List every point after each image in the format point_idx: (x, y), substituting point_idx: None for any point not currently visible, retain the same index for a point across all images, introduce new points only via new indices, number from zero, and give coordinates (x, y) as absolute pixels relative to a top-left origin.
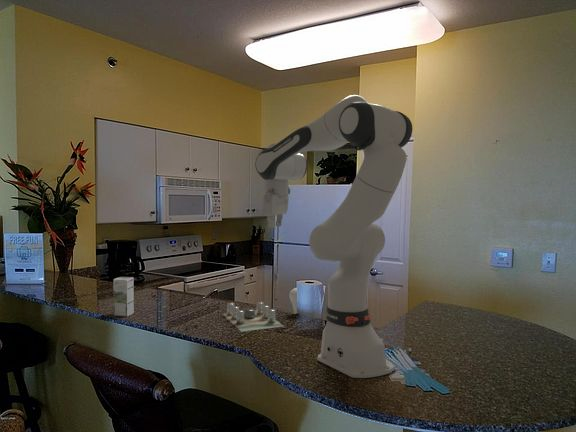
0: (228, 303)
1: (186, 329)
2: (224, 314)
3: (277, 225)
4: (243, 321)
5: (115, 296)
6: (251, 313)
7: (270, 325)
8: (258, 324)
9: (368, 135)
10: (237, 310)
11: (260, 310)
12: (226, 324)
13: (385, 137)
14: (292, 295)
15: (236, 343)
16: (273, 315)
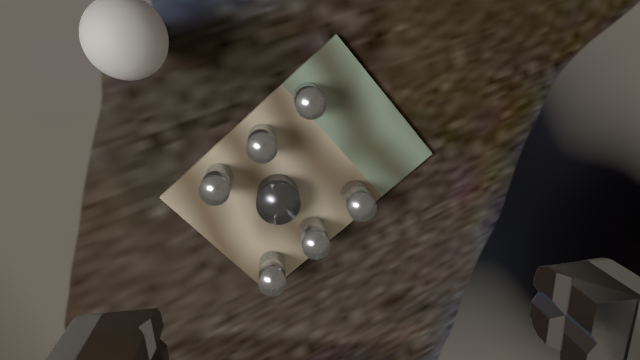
0: (275, 291)
1: (427, 306)
2: None
3: (162, 356)
4: (357, 182)
5: None
6: (293, 186)
7: (344, 87)
8: (345, 131)
9: None
10: (357, 220)
11: (229, 175)
12: (351, 233)
13: None
14: (164, 53)
15: (511, 128)
16: (319, 89)
